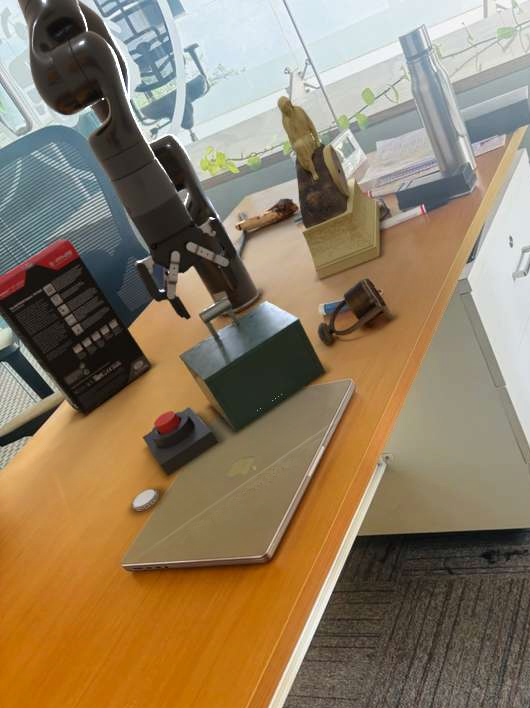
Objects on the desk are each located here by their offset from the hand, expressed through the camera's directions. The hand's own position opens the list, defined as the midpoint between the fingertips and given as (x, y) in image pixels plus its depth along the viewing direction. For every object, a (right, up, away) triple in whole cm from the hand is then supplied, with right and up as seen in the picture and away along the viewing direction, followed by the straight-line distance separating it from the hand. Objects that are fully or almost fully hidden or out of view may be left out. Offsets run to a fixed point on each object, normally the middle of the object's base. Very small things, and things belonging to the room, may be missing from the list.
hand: (211, 303), depth 106 cm
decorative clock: (+20, +25, +41) cm, 52 cm away
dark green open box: (+8, -12, +5) cm, 16 cm away
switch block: (-5, -22, +2) cm, 22 cm away
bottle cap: (-8, -31, -6) cm, 32 cm away
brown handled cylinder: (+23, -1, +10) cm, 25 cm away
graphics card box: (-26, -8, +31) cm, 41 cm away
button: (-6, -19, 0) cm, 20 cm away
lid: (+4, -6, 0) cm, 7 cm away
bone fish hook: (-2, +43, +75) cm, 87 cm away
